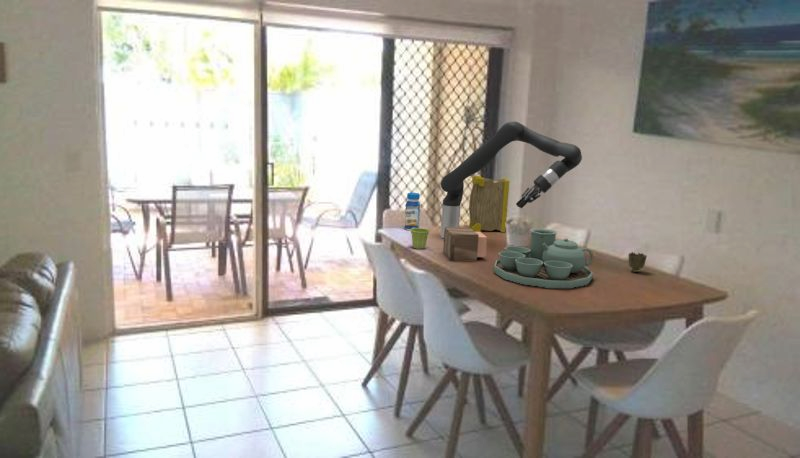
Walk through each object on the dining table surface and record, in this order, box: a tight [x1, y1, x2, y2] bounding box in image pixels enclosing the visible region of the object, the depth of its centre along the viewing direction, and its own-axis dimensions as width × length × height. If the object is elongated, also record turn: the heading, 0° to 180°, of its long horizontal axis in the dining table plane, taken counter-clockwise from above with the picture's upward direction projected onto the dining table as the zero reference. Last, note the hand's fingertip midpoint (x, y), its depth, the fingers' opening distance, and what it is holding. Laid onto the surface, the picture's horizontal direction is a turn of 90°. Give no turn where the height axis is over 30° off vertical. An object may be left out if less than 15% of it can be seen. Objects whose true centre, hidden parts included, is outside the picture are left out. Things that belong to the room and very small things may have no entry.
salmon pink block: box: [476, 231, 488, 258], centre depth 282 cm, size 12×10×9 cm
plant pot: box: [409, 227, 431, 250], centre depth 296 cm, size 9×9×9 cm
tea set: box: [493, 228, 594, 289], centre depth 254 cm, size 40×40×16 cm
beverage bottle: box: [403, 192, 421, 231], centre depth 338 cm, size 8×8×20 cm
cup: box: [628, 251, 648, 273], centre depth 268 cm, size 8×7×8 cm
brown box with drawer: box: [442, 226, 479, 262], centre depth 281 cm, size 16×12×12 cm
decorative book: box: [468, 175, 510, 233], centre depth 344 cm, size 20×11×30 cm, turn 93°
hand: (518, 206), depth 281 cm, fingers open, 2 cm apart
